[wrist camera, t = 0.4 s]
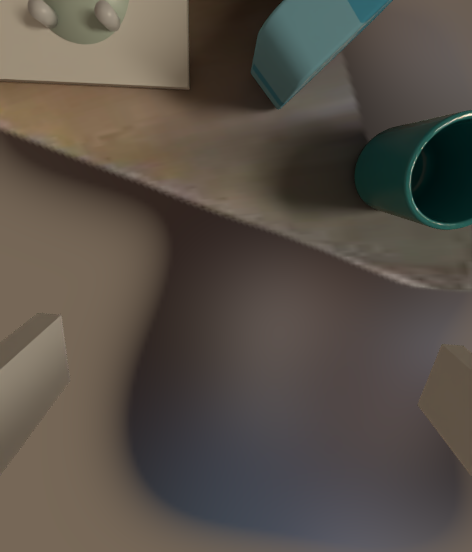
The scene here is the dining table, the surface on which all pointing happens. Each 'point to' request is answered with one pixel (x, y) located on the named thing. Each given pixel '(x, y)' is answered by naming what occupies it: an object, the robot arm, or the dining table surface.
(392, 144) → the cup
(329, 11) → the data package
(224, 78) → the dining table surface
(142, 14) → the pin tray
